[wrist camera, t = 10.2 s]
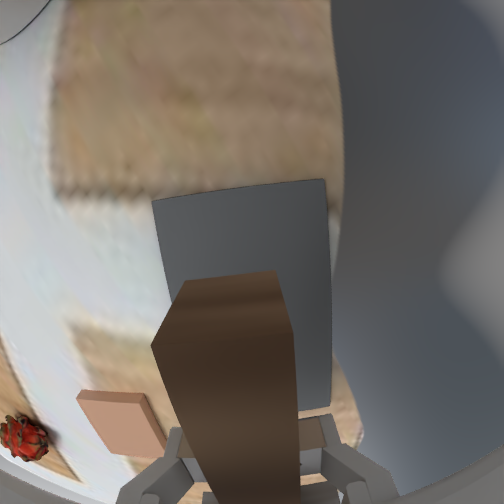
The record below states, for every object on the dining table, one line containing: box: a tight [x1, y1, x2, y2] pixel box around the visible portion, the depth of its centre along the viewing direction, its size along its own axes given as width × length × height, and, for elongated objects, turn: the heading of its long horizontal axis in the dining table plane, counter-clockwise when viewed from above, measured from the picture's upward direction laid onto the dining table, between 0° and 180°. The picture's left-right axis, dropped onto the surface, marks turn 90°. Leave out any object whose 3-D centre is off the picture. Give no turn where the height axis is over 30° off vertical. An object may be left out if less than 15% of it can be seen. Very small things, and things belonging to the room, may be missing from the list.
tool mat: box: [152, 179, 332, 411], centre depth 26 cm, size 24×14×1 cm, turn 7°
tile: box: [76, 390, 167, 458], centre depth 30 cm, size 2×9×11 cm
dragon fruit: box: [0, 415, 49, 462], centre depth 29 cm, size 8×8×12 cm
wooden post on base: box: [151, 270, 340, 504], centre depth 8 cm, size 15×8×8 cm, turn 7°
